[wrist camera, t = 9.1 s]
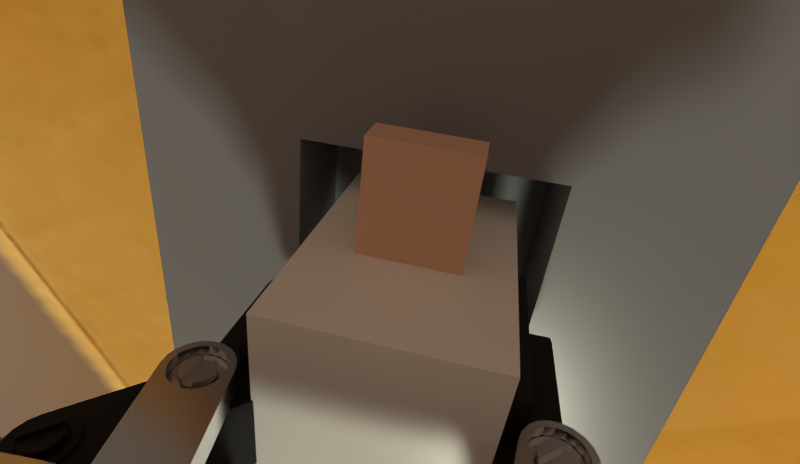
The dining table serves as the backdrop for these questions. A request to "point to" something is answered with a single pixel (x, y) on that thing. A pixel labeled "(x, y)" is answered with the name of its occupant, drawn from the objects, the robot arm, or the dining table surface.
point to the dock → (489, 159)
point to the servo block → (393, 316)
